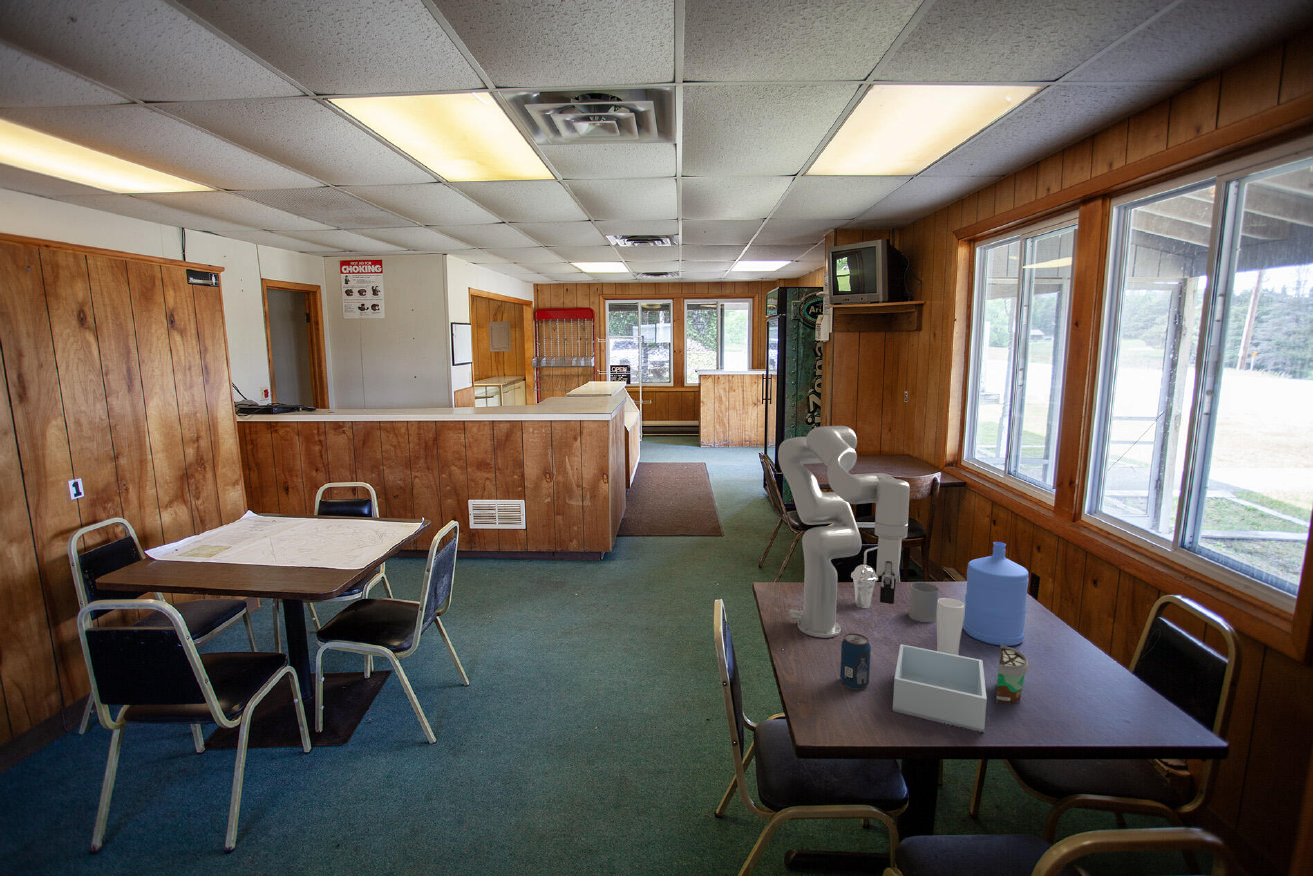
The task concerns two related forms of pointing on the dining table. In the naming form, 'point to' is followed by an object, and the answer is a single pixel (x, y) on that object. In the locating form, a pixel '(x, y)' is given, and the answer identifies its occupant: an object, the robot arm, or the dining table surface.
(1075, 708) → the dining table surface
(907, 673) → the open storage bin
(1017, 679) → the food container
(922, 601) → the cup
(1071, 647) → the dining table surface
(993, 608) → the water jug
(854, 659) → the soda can
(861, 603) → the cup with straw
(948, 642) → the drinking glass
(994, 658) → the dining table surface
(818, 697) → the dining table surface
